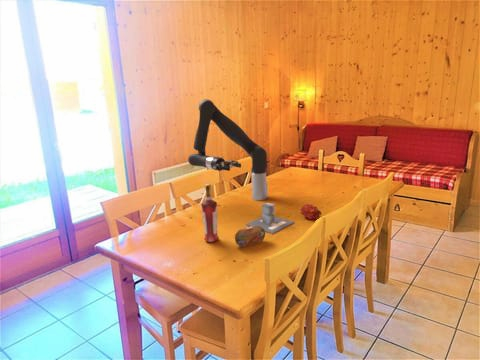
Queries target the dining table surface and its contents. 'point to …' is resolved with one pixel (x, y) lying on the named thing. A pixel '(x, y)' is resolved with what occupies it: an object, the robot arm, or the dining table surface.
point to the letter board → (273, 227)
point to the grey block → (268, 213)
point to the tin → (250, 236)
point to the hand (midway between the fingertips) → (235, 167)
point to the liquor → (209, 216)
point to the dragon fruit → (310, 211)
